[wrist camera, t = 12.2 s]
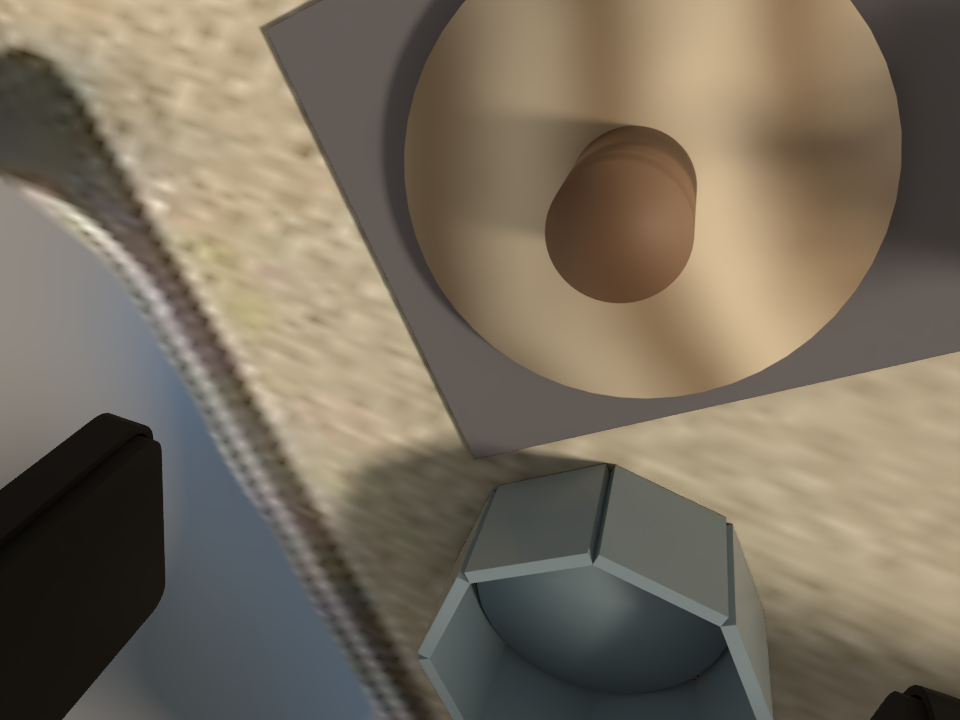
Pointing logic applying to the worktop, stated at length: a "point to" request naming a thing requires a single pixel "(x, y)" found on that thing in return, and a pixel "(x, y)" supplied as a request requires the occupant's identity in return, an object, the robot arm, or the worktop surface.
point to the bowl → (599, 608)
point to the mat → (573, 412)
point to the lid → (652, 181)
